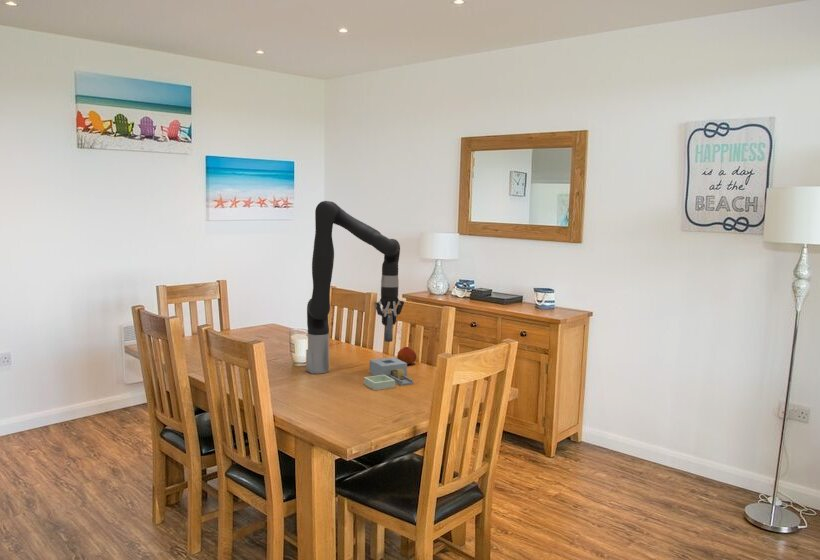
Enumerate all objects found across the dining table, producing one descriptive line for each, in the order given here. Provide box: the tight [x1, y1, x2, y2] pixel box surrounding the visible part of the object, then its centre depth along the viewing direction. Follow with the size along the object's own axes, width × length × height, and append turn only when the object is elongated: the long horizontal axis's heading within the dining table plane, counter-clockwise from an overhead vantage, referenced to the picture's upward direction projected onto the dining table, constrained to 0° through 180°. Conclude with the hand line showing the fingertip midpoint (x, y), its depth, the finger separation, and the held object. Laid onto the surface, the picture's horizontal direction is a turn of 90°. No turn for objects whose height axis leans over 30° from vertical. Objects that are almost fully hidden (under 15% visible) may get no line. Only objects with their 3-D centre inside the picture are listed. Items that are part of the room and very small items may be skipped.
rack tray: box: [363, 375, 396, 391], centre depth 267 cm, size 10×10×3 cm
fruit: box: [396, 346, 417, 365], centre depth 302 cm, size 9×9×8 cm
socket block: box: [369, 356, 415, 387], centre depth 278 cm, size 23×12×6 cm, turn 30°
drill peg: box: [383, 312, 394, 343], centre depth 281 cm, size 4×4×12 cm
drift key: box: [391, 369, 404, 379], centre depth 277 cm, size 9×3×4 cm, turn 30°
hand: (388, 324), depth 280 cm, fingers closed on drill peg, 3 cm apart
